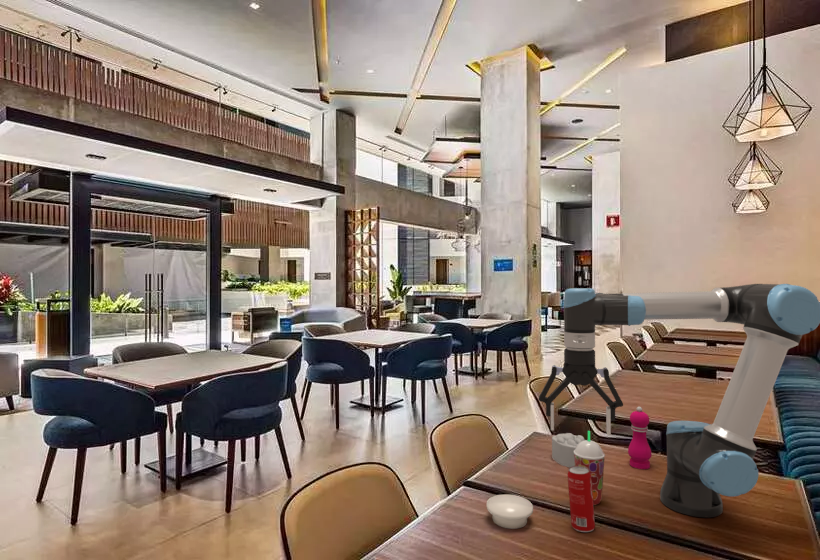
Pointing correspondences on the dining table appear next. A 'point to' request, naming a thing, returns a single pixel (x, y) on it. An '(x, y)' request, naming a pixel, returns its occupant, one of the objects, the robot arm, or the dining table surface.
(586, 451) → the smoothie
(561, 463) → the lumpy-topped squat cylinder
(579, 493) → the beverage can
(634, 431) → the pepper mill
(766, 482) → the dining table surface
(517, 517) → the stand
